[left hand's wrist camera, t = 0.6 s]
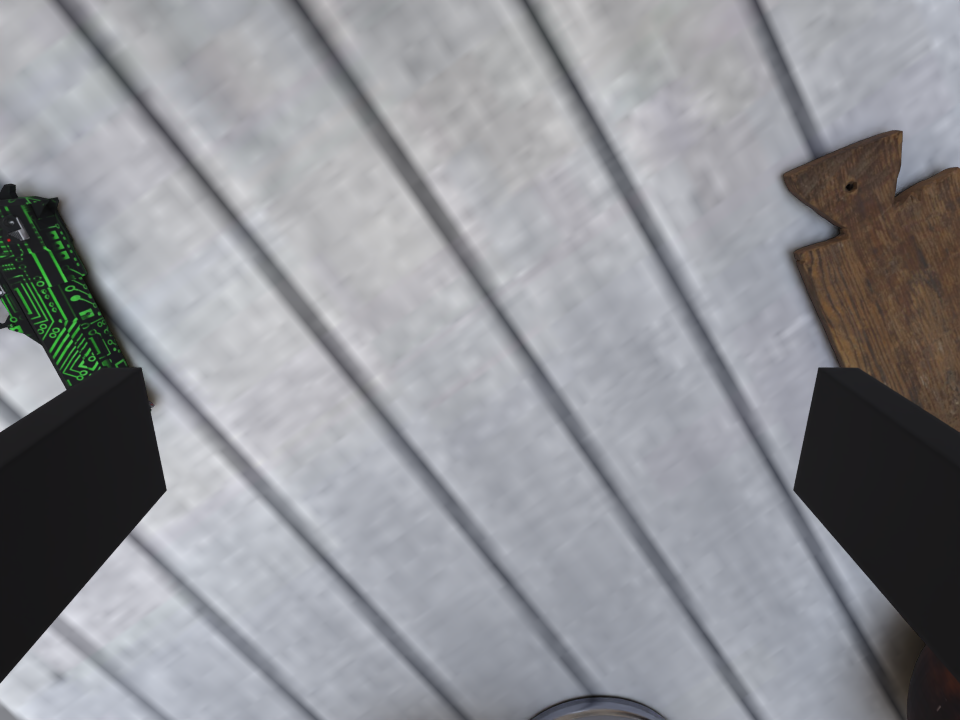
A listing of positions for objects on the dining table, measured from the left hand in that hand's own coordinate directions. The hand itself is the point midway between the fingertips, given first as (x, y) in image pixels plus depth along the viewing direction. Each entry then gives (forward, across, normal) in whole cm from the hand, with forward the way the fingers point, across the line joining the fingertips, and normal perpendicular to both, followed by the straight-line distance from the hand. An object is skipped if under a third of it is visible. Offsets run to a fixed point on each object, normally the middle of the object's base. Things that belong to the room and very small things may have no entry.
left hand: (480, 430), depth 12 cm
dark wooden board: (+28, -28, +6) cm, 40 cm away
